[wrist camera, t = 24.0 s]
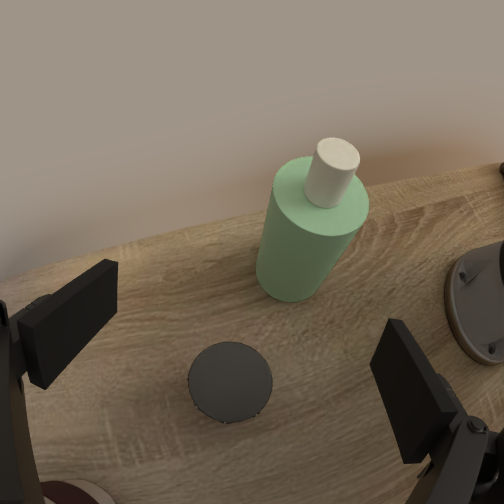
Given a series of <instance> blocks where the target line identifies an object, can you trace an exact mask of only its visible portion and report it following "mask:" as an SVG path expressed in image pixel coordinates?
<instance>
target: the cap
mask: <svg viewBox="0 0 504 504" xmlns="http://www.w3.org/2000/svg"><path fill="white" fill-rule="evenodd" d="M272 386H273V385H272V375H271V371H270V368H269V366H268V364H267V362H266V361H265V359H264V358H263V357H262V356H261V355H260V353H258V352H257V351H256V350H255V349H253V348H251V347H249V346H247V345H245V344H242V343H237V342H222V343H218V344H214V345H212V346H210V347H208V348H206V349H205V350H204V351H202V352H201V353H200V354H199V355H198V356H197V357H196V359H195V360H194V362H193V364H192V366H191V368H190V371H189V374H188V387H189V392H190V395H191V397H192V399H193V402H194V405H195V406H197V407H198V408H197V409H198V410H199V411H201V412H203V413H204V414H206V415H207V416H209V417H211V418H213V419H215V420H217V421H219V422H221V423H224V422H226V424H230V423H234V422H240V421H244V420H247V419H249V418H253V417H255V415H256V414H259V413H260V411H261V410H262V409H263V407H264V406H265V405H266V403H267V402H268V400H269V397H270V395H271V391H272Z"/></svg>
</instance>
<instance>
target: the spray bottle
mask: <svg viewBox="0 0 504 504" xmlns="http://www.w3.org/2000/svg"><path fill="white" fill-rule="evenodd" d="M359 163H360V156H359V153H358V151H357V150H356V148H355V147H354V146H352V145H351V144H350V143H348V142H347V141H344V140H342V139H339V138H325V139H323V140H321V141H320V142H319V143H318V144H317V147H316V150H315V153H314V156H313V157H301V158H297V159H294V160H292V161H289V162H288V163H286V164H285V165H284V166H283V167H281V169H280V170H279V171H278V172H277V174H276V176H275V178H274V182H273V187H272V191H271V197H270V201H269V206H268V210H267V215H266V220H265V224H264V229H263V234H262V238H261V243H260V248H259V252H258V257H257V262H256V276H257V279H258V282H259V284H260V286H261V287H262V288H263V290H264V291H265V292H266V293H268V294H269V295H270V296H272V297H273V298H275V299H277V300H280V301H284V302H299V301H303V300H305V299H307V298H309V297H310V296H312V295H313V294H314V293H315V292H316V291H317V289H318V288H319V287H320V285H321V284H322V282H323V281H324V280H325V278H326V277H327V275H328V274H329V272H330V271H331V270H332V268H333V267H334V265H335V264H336V262H337V261H338V260H339V258H340V257H341V255H342V254H343V252H344V251H345V249H346V248H347V246H348V245H349V243H350V242H351V241H352V239H353V238H354V236H355V235H356V233H357V232H358V230H359V229H360V227H361V226H362V224H363V222H364V221H365V219H366V217H367V214H368V211H369V200H368V195H367V192H366V190H365V188H364V186H363V184H362V183H361V181H360V180H359V179H358V178H357V176H356V175H355V172H356V170H357V168H358V166H359Z"/></svg>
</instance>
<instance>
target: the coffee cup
mask: <svg viewBox="0 0 504 504" xmlns="http://www.w3.org/2000/svg"><path fill="white" fill-rule="evenodd" d="M40 485H41V489H42V493H43V496H44V500H45V503H46V504H116V503H115V501H114V500H113V499H112V498H111V496H110V495H109V494H108V493H107V492H105V491H104V490H103V489H102V488H100V487H99V486H97V485H95V484H93V483H91V482H88V481H85V480H80V479H71V480H65V481H47V482H40Z"/></svg>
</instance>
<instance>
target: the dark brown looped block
mask: <svg viewBox="0 0 504 504" xmlns="http://www.w3.org/2000/svg"><path fill="white" fill-rule="evenodd" d="M500 171H501V172H502V173H503V174H504V162H503V163H502V164H501V166H500Z"/></svg>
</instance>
